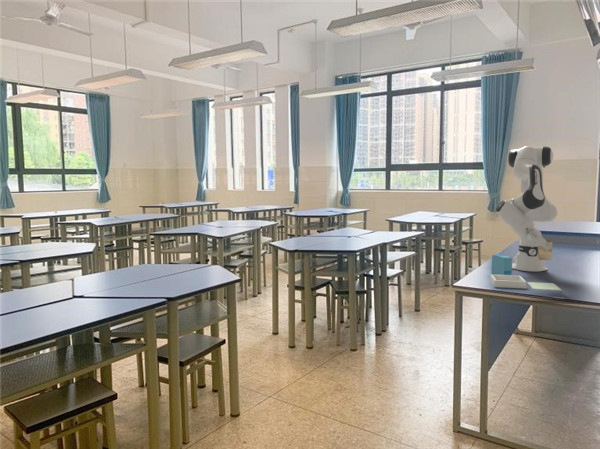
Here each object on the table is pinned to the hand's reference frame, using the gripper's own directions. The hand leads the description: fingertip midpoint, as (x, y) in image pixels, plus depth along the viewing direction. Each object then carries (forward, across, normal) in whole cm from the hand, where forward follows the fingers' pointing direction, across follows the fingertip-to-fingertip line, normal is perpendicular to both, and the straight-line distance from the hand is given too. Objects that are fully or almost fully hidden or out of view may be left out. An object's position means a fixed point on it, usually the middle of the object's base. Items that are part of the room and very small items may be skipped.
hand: (546, 248), depth 208 cm
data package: (+2, +19, +26) cm, 32 cm away
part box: (+3, 0, +4) cm, 5 cm away
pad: (+13, 0, +14) cm, 19 cm away
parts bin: (+2, 0, +25) cm, 25 cm away
